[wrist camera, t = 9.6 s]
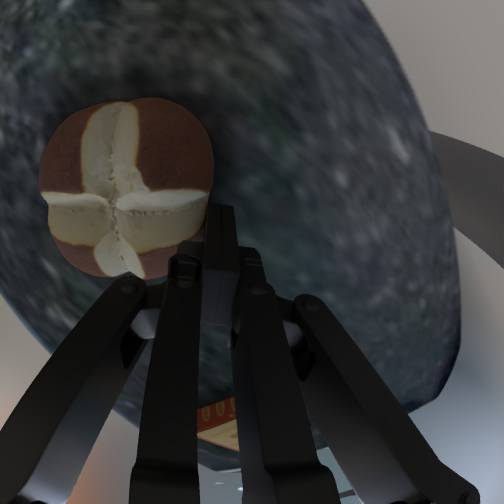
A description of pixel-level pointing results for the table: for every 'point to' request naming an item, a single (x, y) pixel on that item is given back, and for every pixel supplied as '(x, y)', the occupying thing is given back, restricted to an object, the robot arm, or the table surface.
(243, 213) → the table surface
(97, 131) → the bread
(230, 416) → the carton
